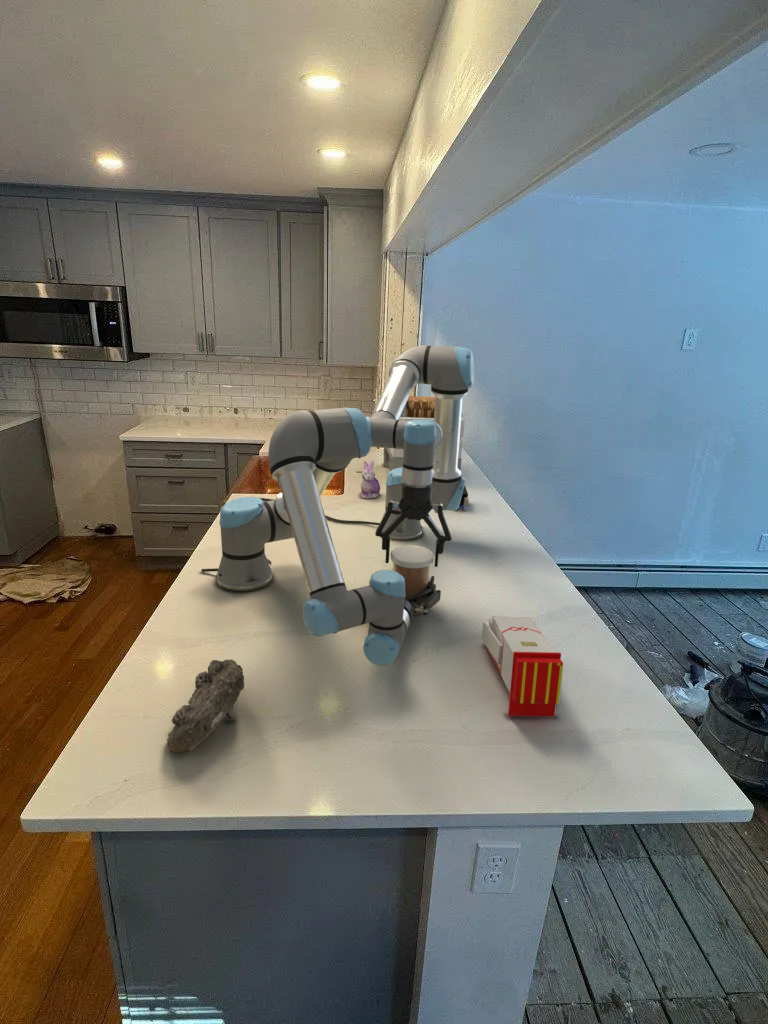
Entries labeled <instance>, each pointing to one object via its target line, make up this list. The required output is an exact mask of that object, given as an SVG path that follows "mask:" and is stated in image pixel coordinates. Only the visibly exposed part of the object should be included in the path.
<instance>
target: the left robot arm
mask: <svg viewBox="0 0 768 1024" xmlns="http://www.w3.org/2000/svg"><path fill="white" fill-rule="evenodd" d="M366 417H367V416H366V415H365V414H364V413H363V411H362V410H360V409H358V408H355V407H339V408H325V409H310V410H306V409H304V410H297V411H293V412H291V413H290V414H288V415H286V416H285V417H284V418H282V419H281V421H279V423H278V424H277V425H276V427H275V429H274V431H273V433H272V435H271V438H270V440H269V445H268V452H267V453H268V455H267V457H268V458H267V460H268V468H269V471H270V475H271V478H272V480H274V481H276V482H277V483H278V485H279V489H280V492H279V493H278V494H277V496H276V498H275V499H273V500H272V501H264V500H261V499H260V498H261V497H259V496H258V497H257V496H243V497H237V498H233V499H231V500H229V501H227V502H226V503H225V504H223V505H222V507H221V508H220V510H219V511H220V512H219V527H220V539H221V540H220V542H221V559H220V562H219V565H218V568H215V567H214V568H202V569H201V572H203V573H206V572H207V573H208V572H216V583H217V584H218V586H219V587H221V588H222V589H224V590H227V591H232V592H250V591H256V590H258V589H259V590H260V589H261V588H264V587H266V586H267V585H269V584H270V583H271V581H272V579H273V573H272V572H273V571H272V568H271V566H272V561H271V560H270V559H269V558H267V555H266V553H265V552H266V550H265V549H266V548H265V546H266V545H265V544H268V543H273V542H278V541H285V540H290V539H294V542H295V547H296V550H297V553H298V556H299V561H300V563H301V568H302V571H303V575H304V578H305V579H304V580H305V582H306V585H307V590H308V592H309V596H310V599H309V600H306V601H305V602H304V604H303V606H302V614H303V615H302V617H303V622H304V625H305V628H306V629H307V632H309V633H310V634H311V636H314V637H322V636H327V635H332V634H334V635H335V634H337V633H339V632H343V631H345V630H348V629H352V628H356V627H358V626H359V627H360V626H364V625H366V624H367V625H368V629H367V636H366V637H365V638H364V643H363V647H362V650H363V655H364V656H365V658H366V659H367V660H368V661H369V662H370V663H371V664H373V665H375V666H380V667H385V666H389V665H391V664H392V663H393V662H394V661H395V660H396V659H397V656H398V655H399V654H400V651H401V648H402V644H403V642H404V640H405V637H406V634H407V632H408V629H409V627H410V625H411V622H412V620H413V617H414V616H415V615H414V614H415V613H416V612H417V611H418V612H423V613H422V615H423V616H428V614H429V611H430V610H432V608H433V607H434V606H436V605H437V604H438V602H440V601H441V595H442V594H441V593H442V591H441V589H437V584H436V583H435V576H434V575H431V576H430V578H429V584H428V586H427V590H425V591H423V592H421V593H419V594H417V595H411V596H409V597H405V596H406V595H405V580H404V577H403V576H402V575H400V574H399V573H398V572H395V571H392V570H390V569H382V570H377V571H375V572H373V573H372V574H371V575H370V578H369V581H368V584H369V585H365V586H362V587H357V588H353V589H347V585H346V583H345V579H344V577H343V572H342V569H341V566H340V562H339V559H338V555H337V551H336V548H335V544H334V542H333V538H332V535H331V531H330V527H329V524H328V521H327V520H328V519H327V518H326V517H325V515H326V513H325V510H324V507H323V504H322V499H321V497H322V495H323V493H324V492H325V490H326V489H327V487H328V486H329V484H330V482H331V481H332V480H333V478H334V476H335V475H336V474H338V473H341V472H343V471H344V470H345V469H347V467H348V466H349V465H350V463H351V462H352V461H353V460H354V459H361V458H365V457H366V456H368V454H369V453H370V450H371V448H372V447H371V433H370V428H369V424H368V421H367V419H366ZM420 604H422V605H420ZM419 605H420V606H419Z"/></svg>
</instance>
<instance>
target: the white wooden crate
mask: <svg viewBox="0 0 768 1024" xmlns="http://www.w3.org/2000/svg"><path fill="white" fill-rule="evenodd" d="M434 413H435V396H415V395H414V396H413V395H412V396H411V395H409V397H408V400H407V402H406V405H405V407H404V409H403V412H402V414H401V417H400V419H399V420H405V421H410V420H432V421H434ZM464 429H465V419H464V418H463V411H462V412H461V425H460V438H459V451H458V464H457V468H458V469H459V470H460V471H461V472H462V461H463V460H462V453H463V442H464V441H463V440H462V439H463V438H464V431H465V430H464ZM403 453H404V450H403V449H395V448H383V466H384V467H388V468H389V472H390V471H391V470H393V469H396V468H401V467H403Z"/></svg>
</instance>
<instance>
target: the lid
mask: <svg viewBox="0 0 768 1024" xmlns="http://www.w3.org/2000/svg"><path fill="white" fill-rule="evenodd" d="M434 557H435V554H434V553H433V551H431V550H430V549H429V548H427V547H424V546H419V545H413V544H411V545H410V544H407V545H406V544H405V545H399V546H396V547H394V548H393V549H392V550H391V551H390V561H391V562H392V564H393V563H395V564H396V565H398V566H401V567H406V568H424V567H427V566H429V565H430V566H431V565H433V563H434Z"/></svg>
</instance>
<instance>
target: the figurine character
mask: <svg viewBox="0 0 768 1024" xmlns="http://www.w3.org/2000/svg"><path fill="white" fill-rule="evenodd" d="M469 502H470V501H469V492H468V490H467V487H466V485H465V484H464V489H463V493H462V497H461V501H460V505H459V508H461V510H462V511H464V510H465V507H468V506H469Z"/></svg>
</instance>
